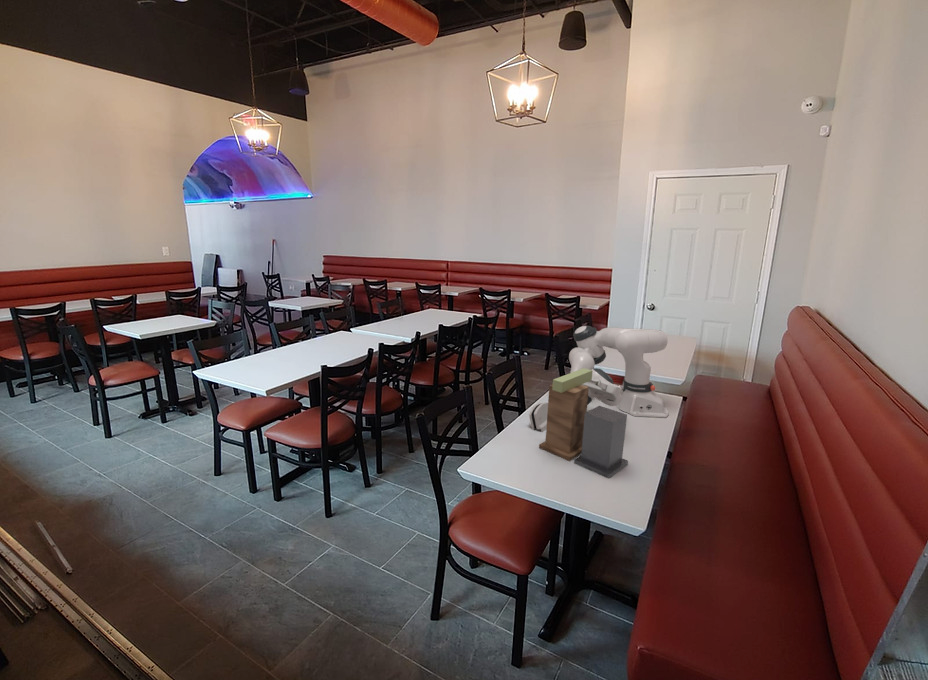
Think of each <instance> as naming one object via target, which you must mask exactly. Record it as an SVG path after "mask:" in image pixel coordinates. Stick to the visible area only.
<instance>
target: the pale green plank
mask: <svg viewBox="0 0 928 680" xmlns="http://www.w3.org/2000/svg"><path fill="white" fill-rule="evenodd" d="M592 371H593V370H589V369H585V368H583V369H580V370H577V371H575V372H572V373H567V374H565V375H562V376H559V377H556V378H553V379H552V384H553V387H552V390H554V391H557V392H561V393H562V392H565V391H567V390H569V389H572V388H574V387H576V386H579V385H581V384H584V383H586V382H588V381H591V380H592Z"/></svg>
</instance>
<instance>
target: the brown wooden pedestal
mask: <svg viewBox="0 0 928 680" xmlns="http://www.w3.org/2000/svg"><path fill="white" fill-rule="evenodd" d="M552 387H553V383H552V384H550V385H549V386H548V400H547V401H548V402H547V403H548V413H547V428H546V430H545V431H546V432H545V441H543V442H541V443H539V444H538V448H539V449H541V450H543V451H546V452H548V453H550V454H552V455H554V456H557V457H558V458H561V459H563V460H565V461H568V462H571V461H572V460H575V459H576V458H578V457H579V456H581V453H582V441H583V430H584V419H585V413H586V412H588V405H587V402H588V391H589V387H587V386H584V385H579V386H576V387H574V388H572V389H569V390H567V391H565V392H562V393H561V392H557V391H554V390H552Z"/></svg>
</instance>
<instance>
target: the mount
mask: <svg viewBox="0 0 928 680" xmlns="http://www.w3.org/2000/svg"><path fill="white" fill-rule="evenodd" d="M627 419H628V413H627V414H626V413H625V412H624V413H623V412H620V411H618V410H615V409H611V408H608V407H604V406H601V405H598V406H596V407H594V408H592V409H590V410H587V412H586V413H585V419H584V430H583V441H582V453H581V454H580V455H579V456H577V457H575V458H574V459H573V460H574V462H573V464H574V465H576V466H579V467H582V468H584V469H586V470H589V471H590V472H593V473H596V474H598V475H600V476H603V477H605V478H607V479H610V478H612V477H613V476H614V475H616V474H617V473H618V472H619V471H621V470H622V469H623V468H625V467H626V466H628V464H629V460H628V459H625V458H623V454H624V444H625V437H626V429H627V428H626V427H627Z"/></svg>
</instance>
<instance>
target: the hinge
mask: <svg viewBox="0 0 928 680" xmlns="http://www.w3.org/2000/svg"><path fill="white" fill-rule="evenodd" d="M547 413H548V402H540V403H538V404H535V405H534V406H533V407H531V410H530V411H529V414H528V416H529V422H530V426H531V430H540V431H541V433H544V432H545V431H546V428H547Z"/></svg>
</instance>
